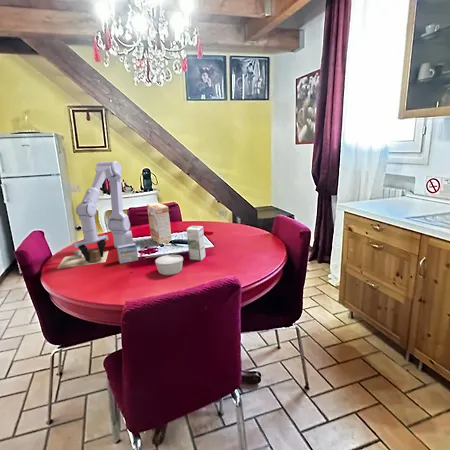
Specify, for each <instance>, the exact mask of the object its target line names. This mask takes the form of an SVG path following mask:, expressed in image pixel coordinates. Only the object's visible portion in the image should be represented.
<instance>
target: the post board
mask: <svg viewBox="0 0 450 450" xmlns="http://www.w3.org/2000/svg"><path fill="white" fill-rule="evenodd" d="M73 254H74V255H68V256H64V257H63V258H62V260H61V261H60V263H59V265H58V267H56V270H57V269H58V270H59V269H67V268H72V267H78V266H79V267H80V266H88V265H95V264H102V263H106V261H107V259H108V254H109V250H106V251H104V252H103V257H101V261H99V262H95V263H89V262H88V261H86V260H85V257H84V255H83V254H82V252H81V251H80V249H76V250H74V251H73Z"/></svg>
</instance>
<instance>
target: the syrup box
mask: <svg viewBox="0 0 450 450" xmlns="http://www.w3.org/2000/svg"><path fill="white" fill-rule="evenodd" d="M204 233H205V232H204V226H202V225H190V226H188V228H186V236H187V246H188V247H187V248H188V256H189V257H188V258H189V260H190V261H202V260H203V259H205V258H206V249H205V248H206V247H205V237H204V235H205V234H204Z"/></svg>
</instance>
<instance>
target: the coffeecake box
mask: <svg viewBox="0 0 450 450" xmlns="http://www.w3.org/2000/svg"><path fill="white" fill-rule="evenodd" d="M146 210H147V215H148V217H147V218H148V224H149V230H150V231H149V232H150V239H151V240H152V239H153V240H152V241H153V242H155V241H156V242H157V243H156V242H155V243H156V244H158V243H159V244H163V243H168V242H170V241H171V240H172V241H173V239H172V231H171V221H170V214H169V206H167V205H165V204H163V203H160V202H154V203H153V202H152V203H147V204H146ZM159 244H158V245H159ZM168 244H169V243H168ZM163 245H164V244H163Z"/></svg>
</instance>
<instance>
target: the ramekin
mask: <svg viewBox="0 0 450 450" xmlns="http://www.w3.org/2000/svg"><path fill="white" fill-rule="evenodd" d="M183 261H184V257H183V256H182V255H179V254H167V255H161V256H159V257H157V258H156V259H155V260H154V263H155V266H156V267H157V271H158V273H159V274H160V275H164V276H172V275H176V274H178V273H180V272H181V271H182V270H183Z"/></svg>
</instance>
